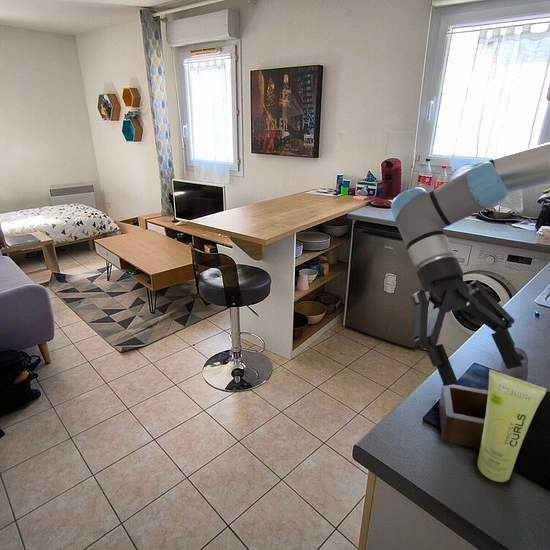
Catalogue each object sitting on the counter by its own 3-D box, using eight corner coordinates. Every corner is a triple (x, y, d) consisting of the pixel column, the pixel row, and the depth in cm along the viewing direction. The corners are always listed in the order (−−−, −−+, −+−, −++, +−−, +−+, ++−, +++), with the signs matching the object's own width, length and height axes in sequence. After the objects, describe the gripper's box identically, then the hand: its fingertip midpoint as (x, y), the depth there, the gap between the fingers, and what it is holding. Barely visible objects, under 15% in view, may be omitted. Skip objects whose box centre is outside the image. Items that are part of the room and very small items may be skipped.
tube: (482, 483, 60) (508, 389, 53) (467, 457, 65) (489, 368, 57) (516, 483, 60) (547, 389, 53) (499, 457, 65) (525, 367, 57)
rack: (490, 415, 74) (496, 392, 72) (501, 454, 66) (508, 428, 63) (438, 405, 77) (442, 382, 75) (442, 440, 69) (447, 416, 66)
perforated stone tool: (521, 412, 75) (529, 385, 72) (492, 402, 77) (499, 375, 75) (525, 373, 86) (532, 348, 83) (499, 366, 89) (505, 341, 86)
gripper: (474, 263, 76) (522, 364, 68) (369, 280, 69) (409, 394, 62) (501, 247, 69) (558, 356, 62) (388, 264, 62) (435, 389, 55)
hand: (484, 376), depth 62 cm, fingers open, 13 cm apart
